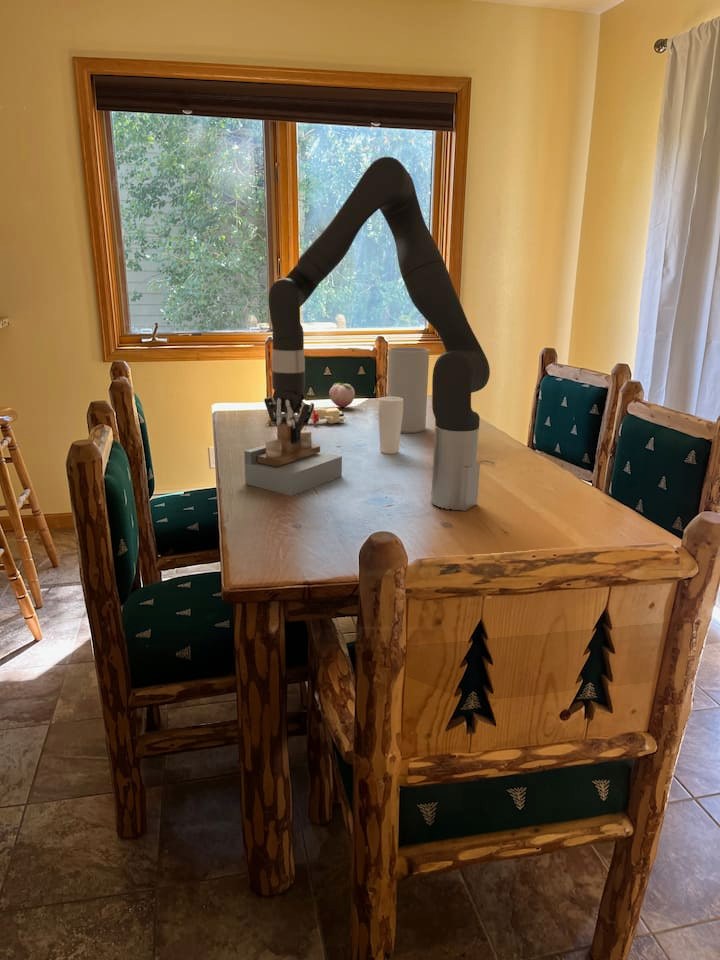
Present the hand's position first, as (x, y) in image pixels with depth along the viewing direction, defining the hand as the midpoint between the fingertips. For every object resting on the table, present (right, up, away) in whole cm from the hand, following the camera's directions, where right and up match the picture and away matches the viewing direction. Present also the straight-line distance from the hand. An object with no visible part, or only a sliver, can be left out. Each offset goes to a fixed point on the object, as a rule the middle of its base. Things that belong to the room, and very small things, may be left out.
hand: (289, 441), depth 162 cm
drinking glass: (+25, -1, +28) cm, 38 cm away
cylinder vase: (+31, +7, +55) cm, 64 cm away
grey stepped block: (+1, -9, +2) cm, 9 cm away
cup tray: (0, -4, +1) cm, 4 cm away
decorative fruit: (+10, +17, +85) cm, 87 cm away
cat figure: (0, +9, +61) cm, 61 cm away
